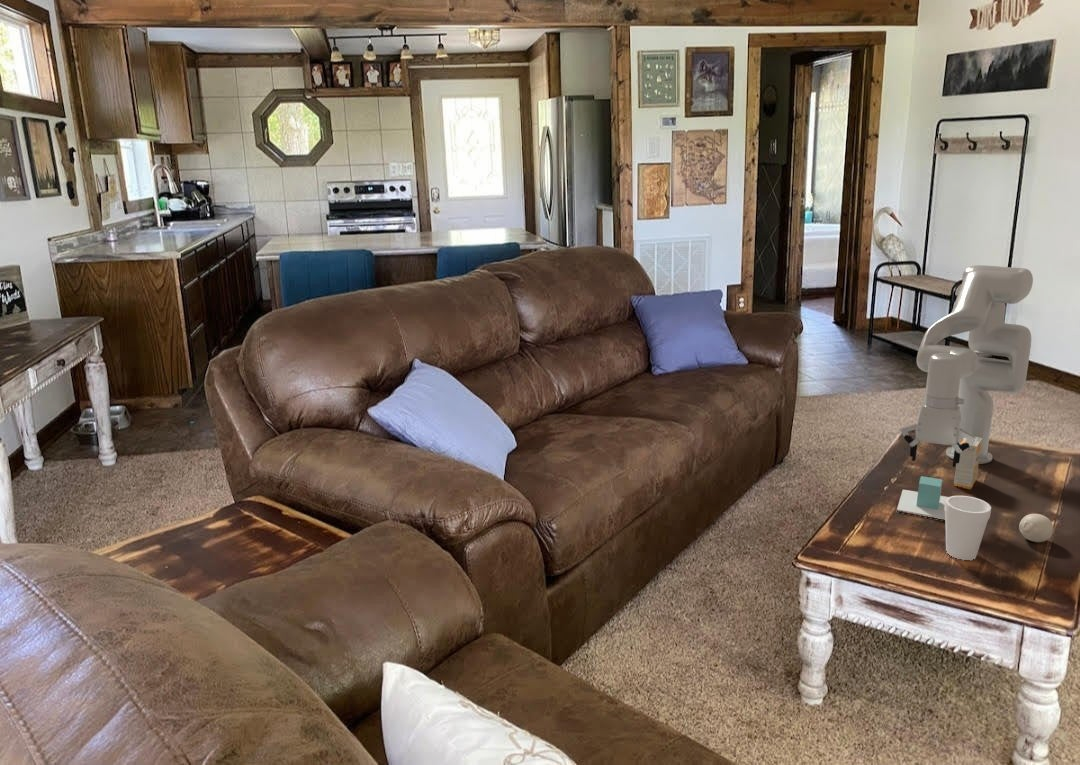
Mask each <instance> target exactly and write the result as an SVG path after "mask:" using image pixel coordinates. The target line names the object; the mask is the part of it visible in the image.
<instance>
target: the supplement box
mask: <svg viewBox="0 0 1080 765" xmlns="http://www.w3.org/2000/svg"><path fill="white" fill-rule="evenodd" d="M966 440H967V439H966V438H964V437H963V439H962V440H961V442H960V445H961V444H963V443H964V442H966ZM981 444H982V438H979V437H975V440H974V441H973V443H972V444H971V445H970V446H969V448H967V449H965V450H964V451H962V452H961V453H960V460H959V463H956V467H955V472H954V481H953V487H957V486H958V488H961V487H962V488H961V489H967V490H972V488H973V486H974V484H975V483H976V481H977V478H978V471H979V465H980V464H979V458H980V451H981Z"/></svg>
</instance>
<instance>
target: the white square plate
mask: <svg viewBox="0 0 1080 765" xmlns="http://www.w3.org/2000/svg"><path fill="white" fill-rule="evenodd" d="M917 496H918V491H915V490H910V489H909V490H908V489H902V491H901V494H900V496H899V501H898V505H897V508H896V511H897V510H898V511H903V512H907V513H913V514H918V515H923V516H928V517H934V518H938V519H944V520H945V510H944V507H945V500H946V499H947V498H948V497H949V496H945V495H940V503H939V507H938V510H936V509H931V508H925V507H919V506H916V505H917ZM938 519H937V520H938Z"/></svg>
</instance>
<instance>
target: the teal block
mask: <svg viewBox="0 0 1080 765" xmlns="http://www.w3.org/2000/svg"><path fill="white" fill-rule="evenodd" d="M942 486H943V479H940V478H935V477H929V476H924V475H923V476H922V475H921V476H920V478H919V482H918V489H917V492H918V496H917V505H916V506H919V507H925V508H931V509H936V510H938V507H939V503H940V496H942V495H941V493H942V488H943V487H942Z"/></svg>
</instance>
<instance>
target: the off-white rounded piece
mask: <svg viewBox="0 0 1080 765" xmlns="http://www.w3.org/2000/svg"><path fill="white" fill-rule="evenodd" d="M1018 529H1019V531H1020V534H1021V535H1022V536H1023V537H1024V538H1025V539H1027V540H1028V541H1031V542H1035V543H1044V542H1046V541H1048V540H1049V539H1050V538H1051V537H1052V535H1053V533H1054V526H1053V523H1052V521H1051V520H1050V519H1049V518H1048V517H1047V516H1045V515H1044V514H1040V513H1029V514H1027V515H1025V516H1023V518H1021V520H1020V522H1019V526H1018Z"/></svg>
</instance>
